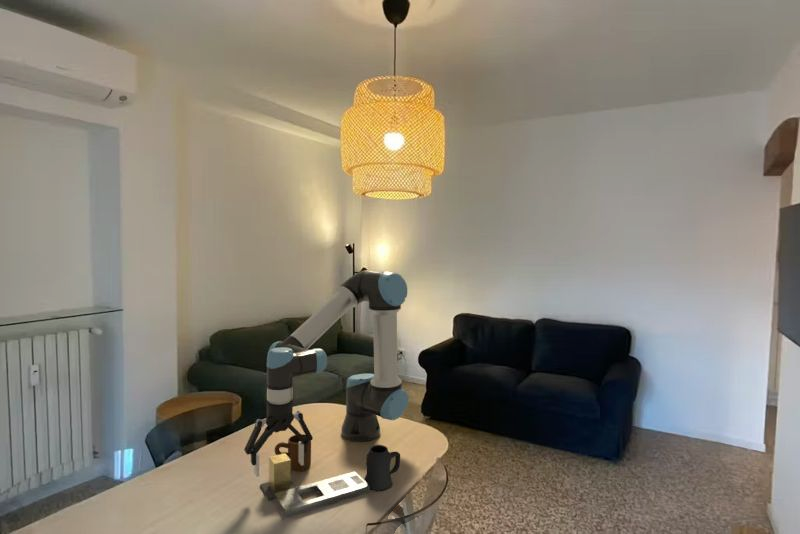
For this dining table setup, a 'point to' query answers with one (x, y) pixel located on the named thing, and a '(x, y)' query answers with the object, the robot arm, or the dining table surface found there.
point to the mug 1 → (295, 453)
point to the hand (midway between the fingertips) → (279, 469)
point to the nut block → (279, 473)
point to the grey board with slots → (321, 493)
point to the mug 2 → (380, 468)
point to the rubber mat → (269, 492)
